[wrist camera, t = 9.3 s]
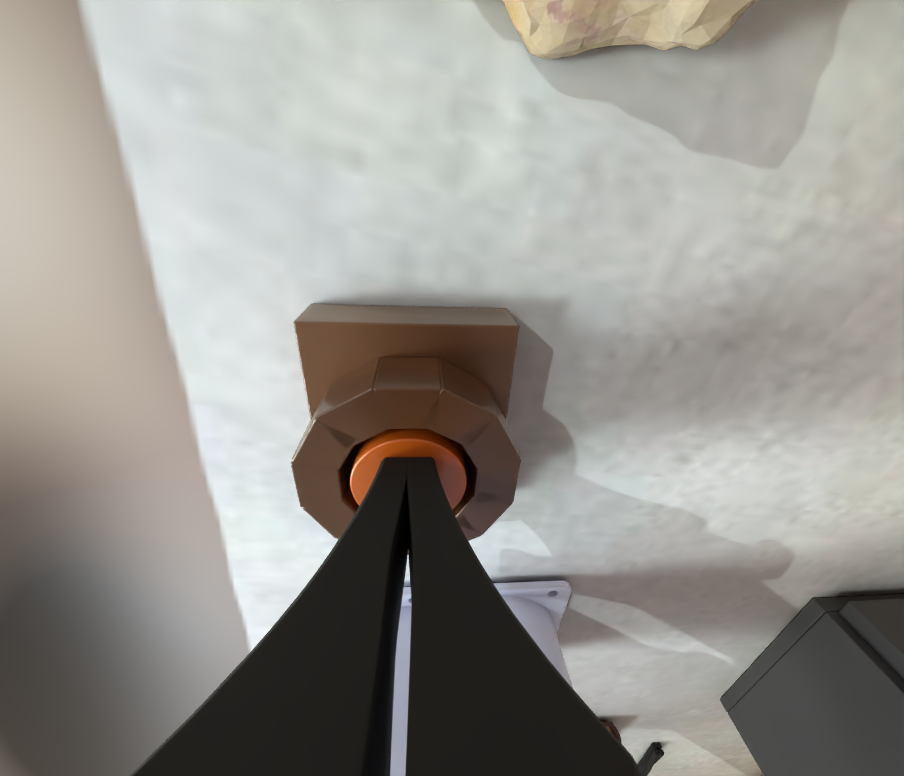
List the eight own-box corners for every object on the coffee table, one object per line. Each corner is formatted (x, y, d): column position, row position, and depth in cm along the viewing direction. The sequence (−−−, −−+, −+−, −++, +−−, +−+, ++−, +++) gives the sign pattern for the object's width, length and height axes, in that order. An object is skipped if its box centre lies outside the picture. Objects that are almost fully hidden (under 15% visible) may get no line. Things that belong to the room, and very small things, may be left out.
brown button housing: (338, 496, 15) (315, 577, 12) (308, 302, 11) (263, 348, 8) (485, 493, 15) (501, 570, 12) (508, 307, 11) (541, 352, 8)
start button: (363, 484, 12) (354, 527, 10) (355, 403, 10) (343, 440, 9) (458, 482, 12) (463, 524, 11) (464, 403, 11) (471, 439, 9)
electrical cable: (620, 797, 37) (619, 783, 38) (631, 800, 37) (629, 786, 38) (653, 754, 31) (650, 739, 32) (665, 757, 31) (662, 742, 32)
